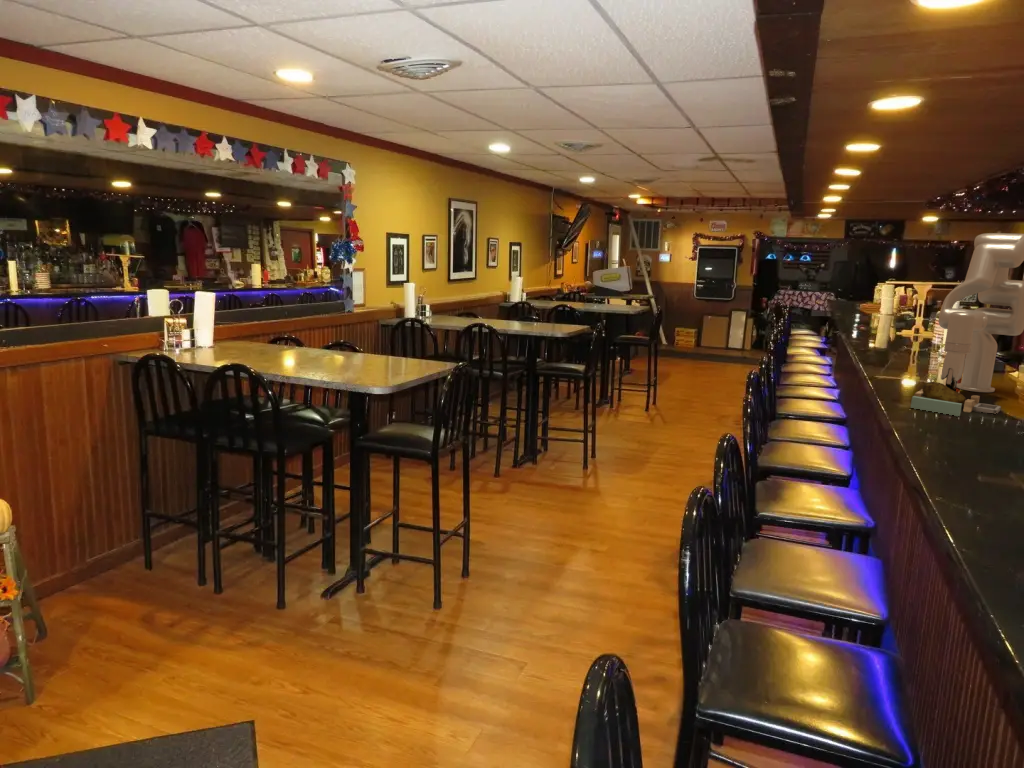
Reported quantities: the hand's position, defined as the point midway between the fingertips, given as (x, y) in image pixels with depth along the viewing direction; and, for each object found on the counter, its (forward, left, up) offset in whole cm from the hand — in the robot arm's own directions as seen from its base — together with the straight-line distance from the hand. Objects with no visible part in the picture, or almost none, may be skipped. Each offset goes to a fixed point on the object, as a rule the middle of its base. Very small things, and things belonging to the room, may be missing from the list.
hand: (948, 399), depth 242 cm
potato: (+6, -1, -2) cm, 7 cm away
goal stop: (+19, 0, -1) cm, 19 cm away
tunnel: (+3, 0, -1) cm, 4 cm away
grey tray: (+3, +12, -2) cm, 12 cm away
